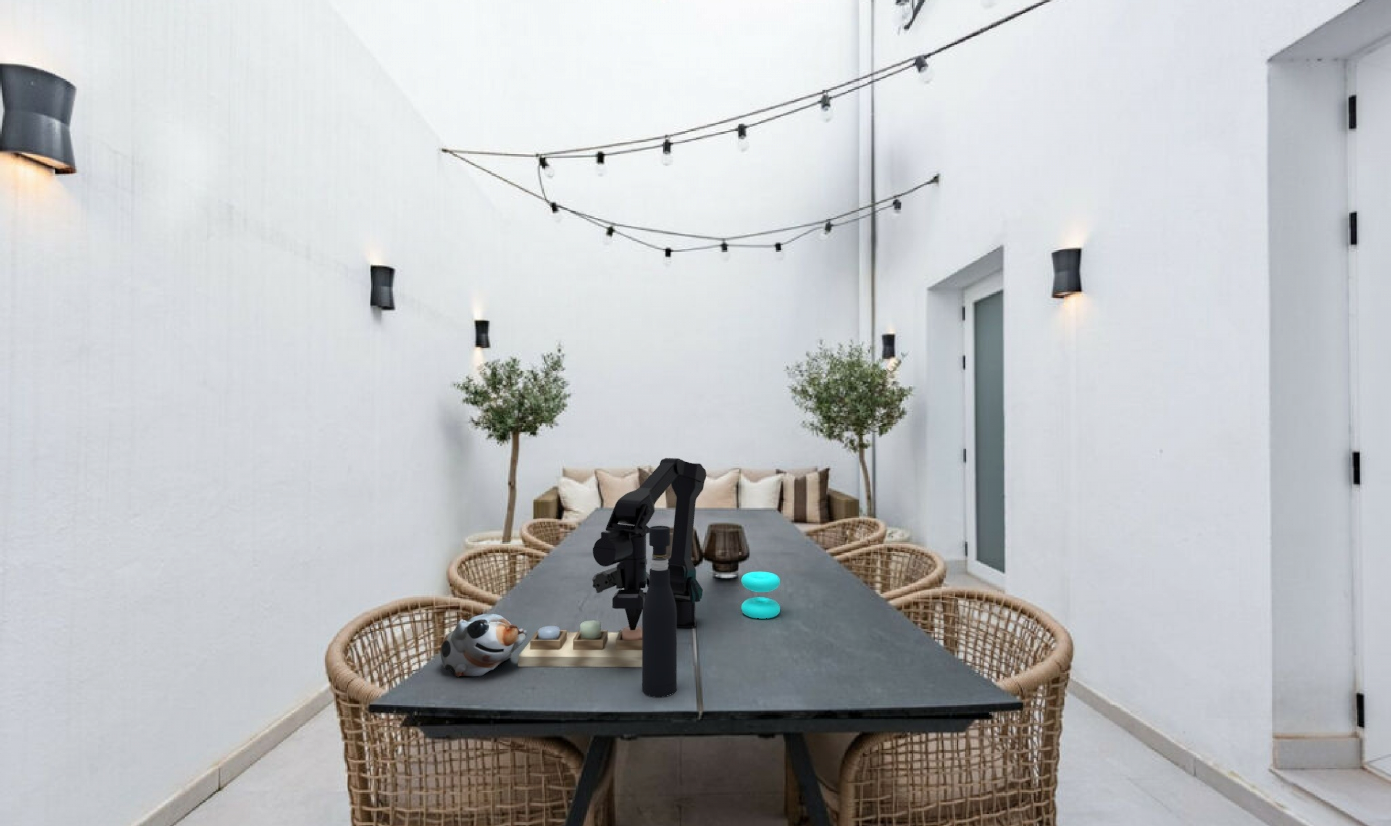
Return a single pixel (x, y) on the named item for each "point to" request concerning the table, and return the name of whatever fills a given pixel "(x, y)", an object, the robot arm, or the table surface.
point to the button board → (582, 651)
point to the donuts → (760, 605)
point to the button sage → (590, 629)
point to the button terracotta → (632, 633)
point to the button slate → (549, 633)
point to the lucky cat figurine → (480, 644)
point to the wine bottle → (659, 622)
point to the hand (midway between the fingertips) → (632, 629)
